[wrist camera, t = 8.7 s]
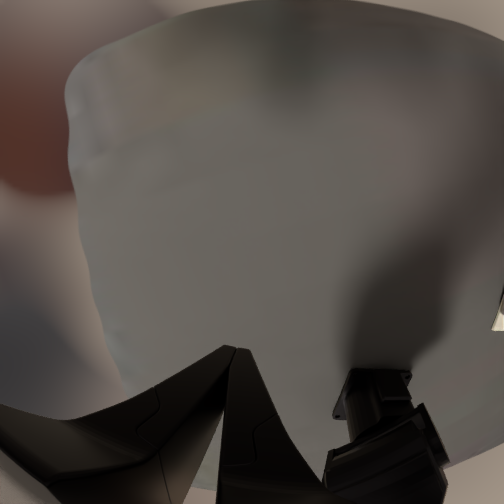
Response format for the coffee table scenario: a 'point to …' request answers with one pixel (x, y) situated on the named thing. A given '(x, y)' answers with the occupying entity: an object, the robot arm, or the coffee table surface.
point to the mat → (499, 320)
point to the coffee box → (502, 307)
